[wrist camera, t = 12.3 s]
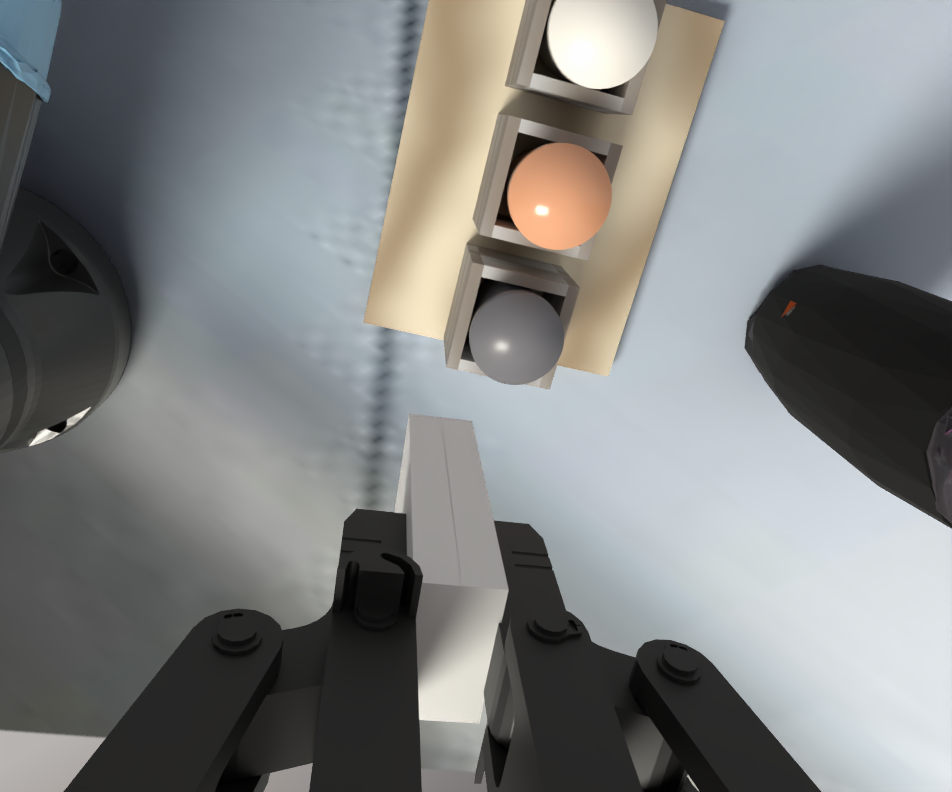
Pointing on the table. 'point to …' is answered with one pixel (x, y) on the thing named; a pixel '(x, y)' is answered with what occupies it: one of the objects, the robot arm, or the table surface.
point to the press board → (487, 163)
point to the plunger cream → (598, 40)
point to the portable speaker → (865, 375)
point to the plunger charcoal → (514, 333)
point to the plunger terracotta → (558, 195)
